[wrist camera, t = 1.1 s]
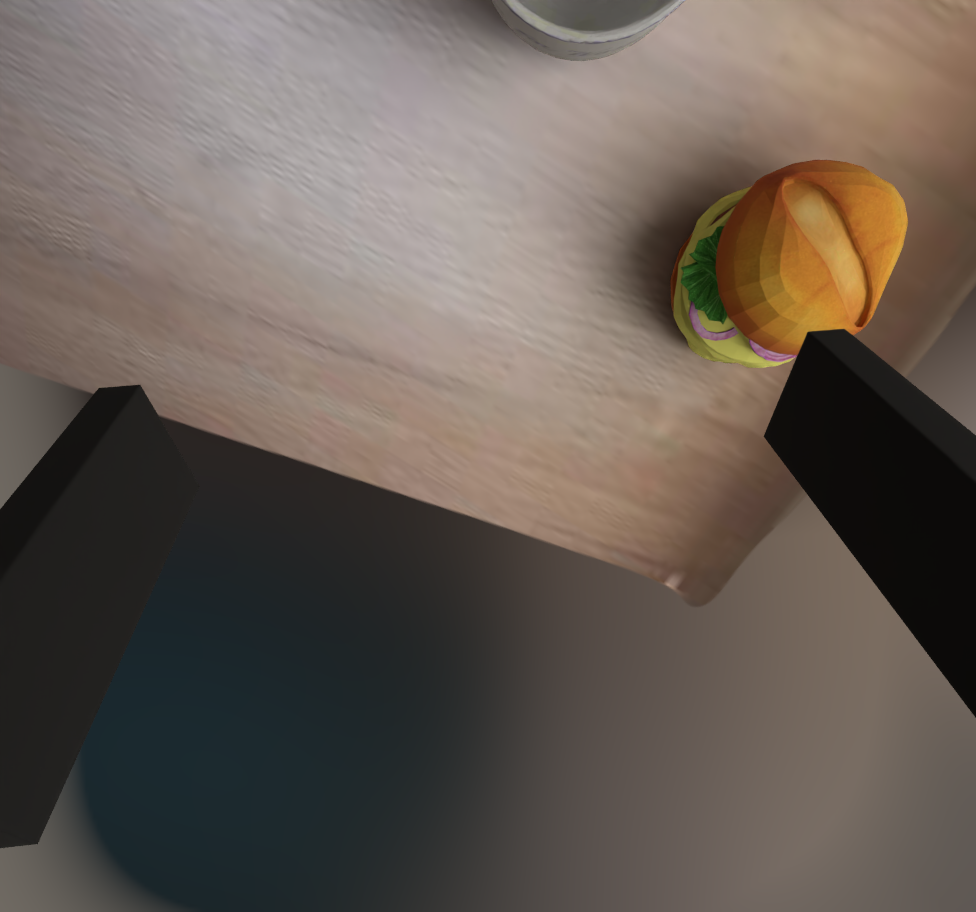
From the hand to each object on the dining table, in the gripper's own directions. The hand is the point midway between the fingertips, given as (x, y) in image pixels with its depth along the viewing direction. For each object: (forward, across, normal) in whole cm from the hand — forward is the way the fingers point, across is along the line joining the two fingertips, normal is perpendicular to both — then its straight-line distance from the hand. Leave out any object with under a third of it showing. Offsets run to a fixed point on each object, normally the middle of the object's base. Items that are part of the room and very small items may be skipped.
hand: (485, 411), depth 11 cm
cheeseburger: (+22, +18, -7) cm, 29 cm away
